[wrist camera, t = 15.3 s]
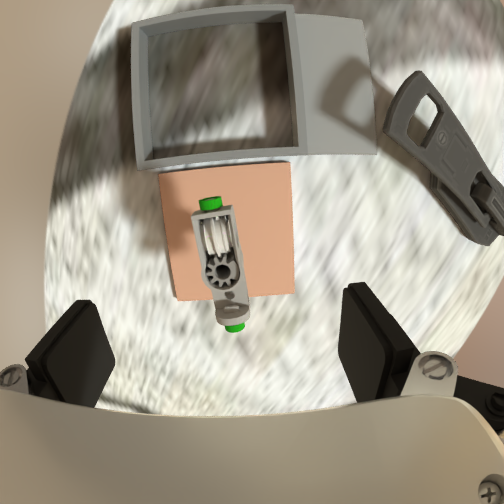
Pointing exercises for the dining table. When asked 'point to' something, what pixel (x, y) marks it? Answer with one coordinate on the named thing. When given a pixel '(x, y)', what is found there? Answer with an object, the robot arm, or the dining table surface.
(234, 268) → the mechanical component
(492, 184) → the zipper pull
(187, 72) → the dining table surface
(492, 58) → the dining table surface
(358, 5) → the dining table surface
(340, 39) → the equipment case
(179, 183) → the rubber mat
